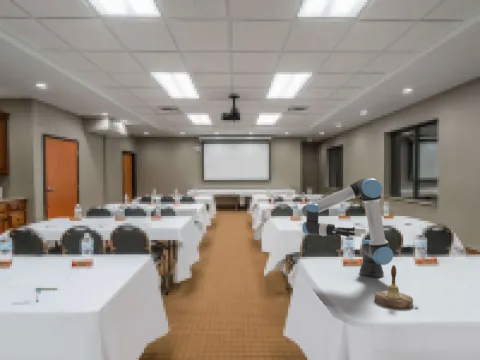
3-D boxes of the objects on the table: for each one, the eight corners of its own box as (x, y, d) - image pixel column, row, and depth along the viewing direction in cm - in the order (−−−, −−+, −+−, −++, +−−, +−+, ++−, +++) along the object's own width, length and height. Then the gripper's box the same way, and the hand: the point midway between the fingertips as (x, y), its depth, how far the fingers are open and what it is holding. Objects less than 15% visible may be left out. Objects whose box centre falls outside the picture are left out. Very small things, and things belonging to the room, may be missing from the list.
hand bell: (381, 294, 184) (382, 263, 184) (397, 293, 185) (397, 263, 185) (389, 299, 176) (390, 267, 176) (405, 299, 176) (406, 267, 177)
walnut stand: (390, 294, 193) (390, 289, 193) (420, 305, 177) (420, 299, 177) (367, 299, 184) (367, 294, 184) (397, 311, 168) (397, 305, 168)
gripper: (332, 233, 227) (367, 236, 216) (321, 238, 205) (358, 242, 194) (333, 221, 227) (367, 224, 216) (321, 225, 205) (359, 228, 194)
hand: (363, 232), depth 205 cm, fingers open, 13 cm apart
